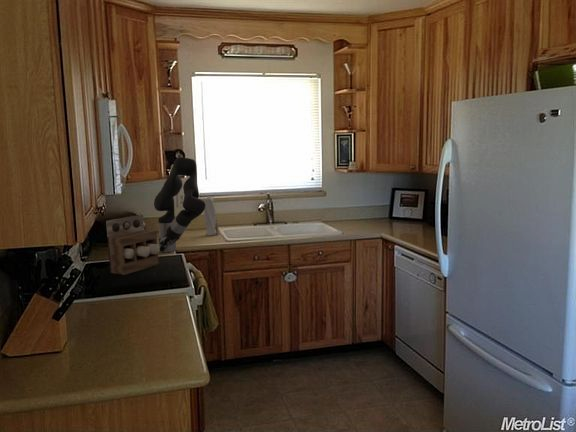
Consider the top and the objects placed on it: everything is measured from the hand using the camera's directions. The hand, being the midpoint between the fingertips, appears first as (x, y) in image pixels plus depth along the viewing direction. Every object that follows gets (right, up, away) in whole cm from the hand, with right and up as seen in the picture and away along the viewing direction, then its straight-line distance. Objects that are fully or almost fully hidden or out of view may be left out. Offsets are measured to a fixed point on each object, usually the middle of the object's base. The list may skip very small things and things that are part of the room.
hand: (161, 250), depth 251 cm
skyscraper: (+11, +4, +93) cm, 94 cm away
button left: (-16, -4, -5) cm, 17 cm away
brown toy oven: (-14, -10, +2) cm, 17 cm away
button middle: (-9, -3, -2) cm, 10 cm away
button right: (-6, -2, +4) cm, 7 cm away
